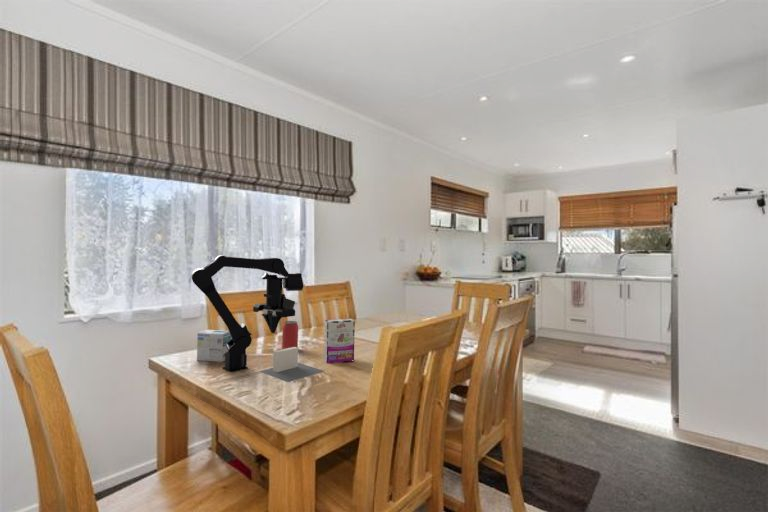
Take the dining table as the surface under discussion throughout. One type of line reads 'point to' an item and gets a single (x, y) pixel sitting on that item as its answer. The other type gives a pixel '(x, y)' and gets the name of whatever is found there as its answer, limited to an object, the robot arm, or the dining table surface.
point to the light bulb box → (212, 345)
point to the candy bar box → (339, 340)
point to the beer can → (290, 334)
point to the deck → (285, 359)
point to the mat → (293, 372)
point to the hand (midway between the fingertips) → (273, 332)
